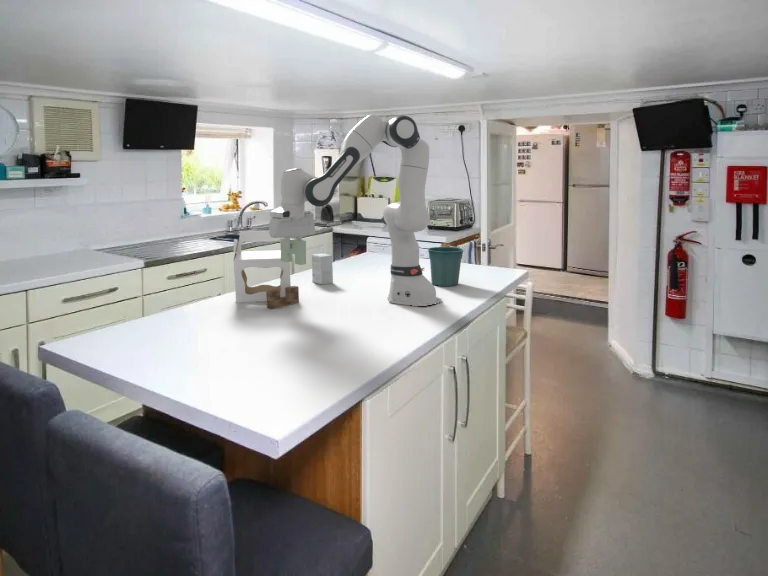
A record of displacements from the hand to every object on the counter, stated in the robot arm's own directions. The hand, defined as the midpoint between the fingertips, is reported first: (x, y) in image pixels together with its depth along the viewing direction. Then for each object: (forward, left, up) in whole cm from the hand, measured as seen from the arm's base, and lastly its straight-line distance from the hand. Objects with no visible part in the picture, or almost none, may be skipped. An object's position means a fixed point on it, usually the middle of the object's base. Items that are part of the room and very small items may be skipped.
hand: (293, 247), depth 223 cm
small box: (+22, -36, -23) cm, 48 cm away
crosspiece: (0, 0, -6) cm, 6 cm away
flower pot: (-23, -70, -23) cm, 77 cm away
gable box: (+19, 0, -23) cm, 30 cm away
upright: (+3, +3, -23) cm, 23 cm away
